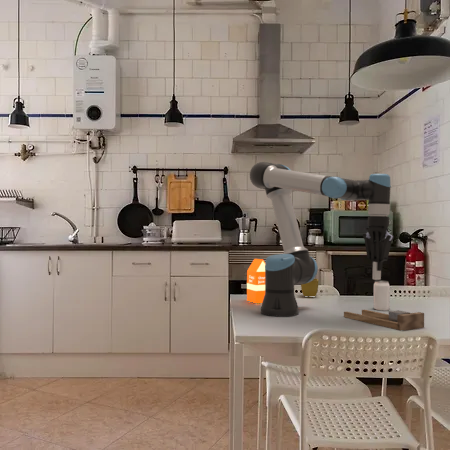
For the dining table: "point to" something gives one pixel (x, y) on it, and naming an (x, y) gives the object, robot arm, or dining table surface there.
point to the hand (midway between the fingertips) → (376, 279)
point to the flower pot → (310, 288)
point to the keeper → (395, 315)
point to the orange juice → (256, 281)
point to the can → (381, 295)
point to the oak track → (382, 319)
